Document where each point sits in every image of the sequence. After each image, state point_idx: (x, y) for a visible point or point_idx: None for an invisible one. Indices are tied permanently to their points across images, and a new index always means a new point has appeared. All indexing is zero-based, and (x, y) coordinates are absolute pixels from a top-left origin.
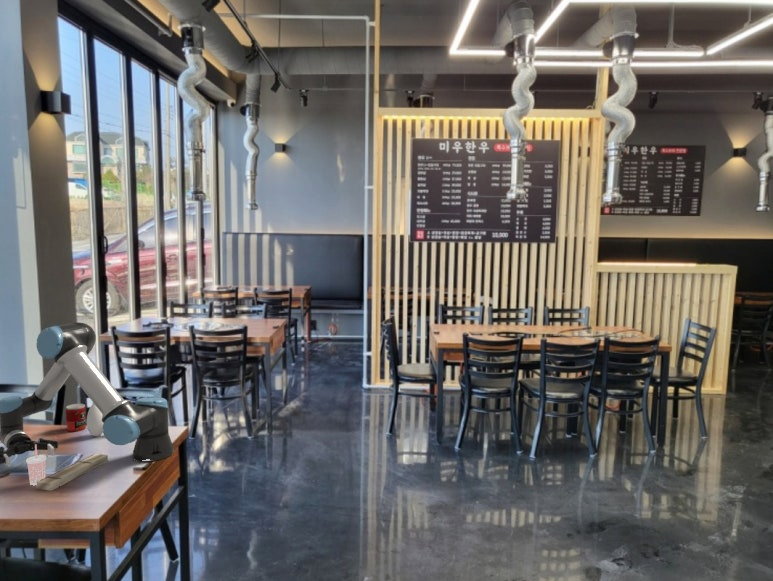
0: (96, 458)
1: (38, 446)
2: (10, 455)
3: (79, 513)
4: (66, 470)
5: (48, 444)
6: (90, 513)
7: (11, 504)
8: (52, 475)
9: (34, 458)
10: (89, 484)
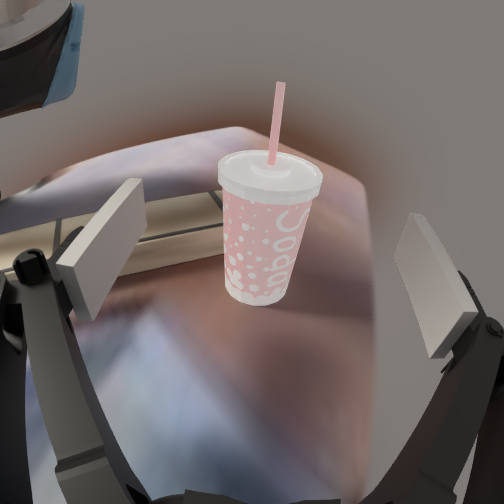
0: (14, 241)
1: (95, 406)
2: (412, 437)
3: (250, 138)
4: (150, 225)
5: (75, 255)
6: (238, 132)
7: (356, 215)
8: (213, 223)
9: (282, 163)
10: (159, 182)
